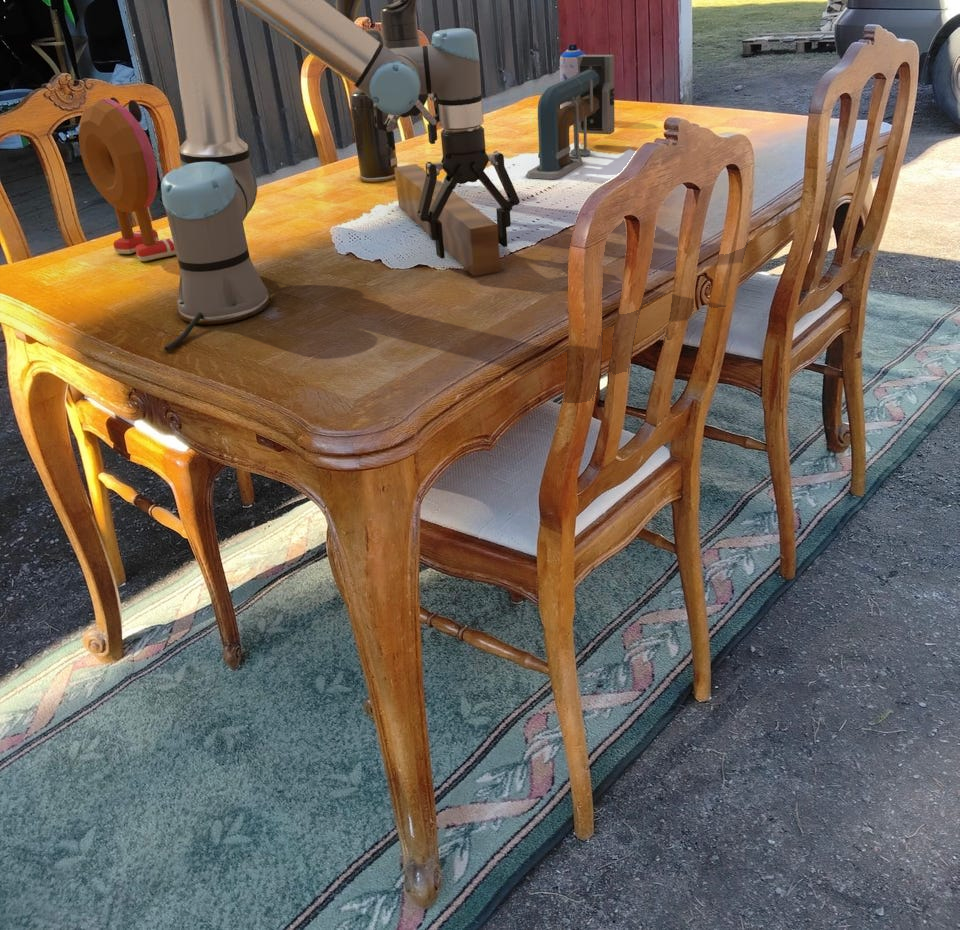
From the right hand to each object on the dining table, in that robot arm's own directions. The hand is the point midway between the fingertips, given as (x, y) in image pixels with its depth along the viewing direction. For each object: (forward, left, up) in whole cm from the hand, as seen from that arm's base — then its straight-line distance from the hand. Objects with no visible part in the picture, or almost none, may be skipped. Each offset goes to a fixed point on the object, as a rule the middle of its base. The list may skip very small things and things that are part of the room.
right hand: (412, 146), depth 200 cm
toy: (-5, -56, -14) cm, 58 cm away
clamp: (-23, +46, -14) cm, 53 cm away
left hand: (+35, 0, -12) cm, 37 cm away
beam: (+18, 0, -14) cm, 23 cm away
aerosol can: (-66, +66, -14) cm, 94 cm away
